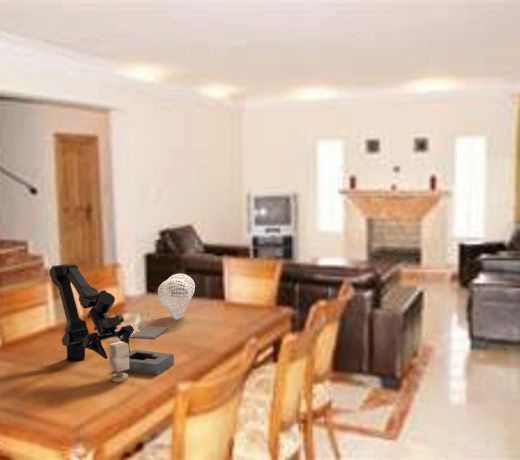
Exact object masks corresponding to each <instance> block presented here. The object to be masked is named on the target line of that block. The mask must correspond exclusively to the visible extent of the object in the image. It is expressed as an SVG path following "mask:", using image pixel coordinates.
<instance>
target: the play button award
mask: <svg viewBox="0 0 520 460" xmlns="http://www.w3.org/2000/svg"><path fill="white" fill-rule="evenodd" d="M138 326H139V327H138V329H140V331H141V332H136V333H135V334H133V335H132V336H133V337H137V338H136V339H147V338H150V339H151V340H152V339H153V340H157V339H158V338H159V337H160V336H161V335H163V334H164V332H165V333H166V332H168V331H169V330H170V328H169V327H165V326H147V325H138ZM167 330H168V331H167Z"/></svg>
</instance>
